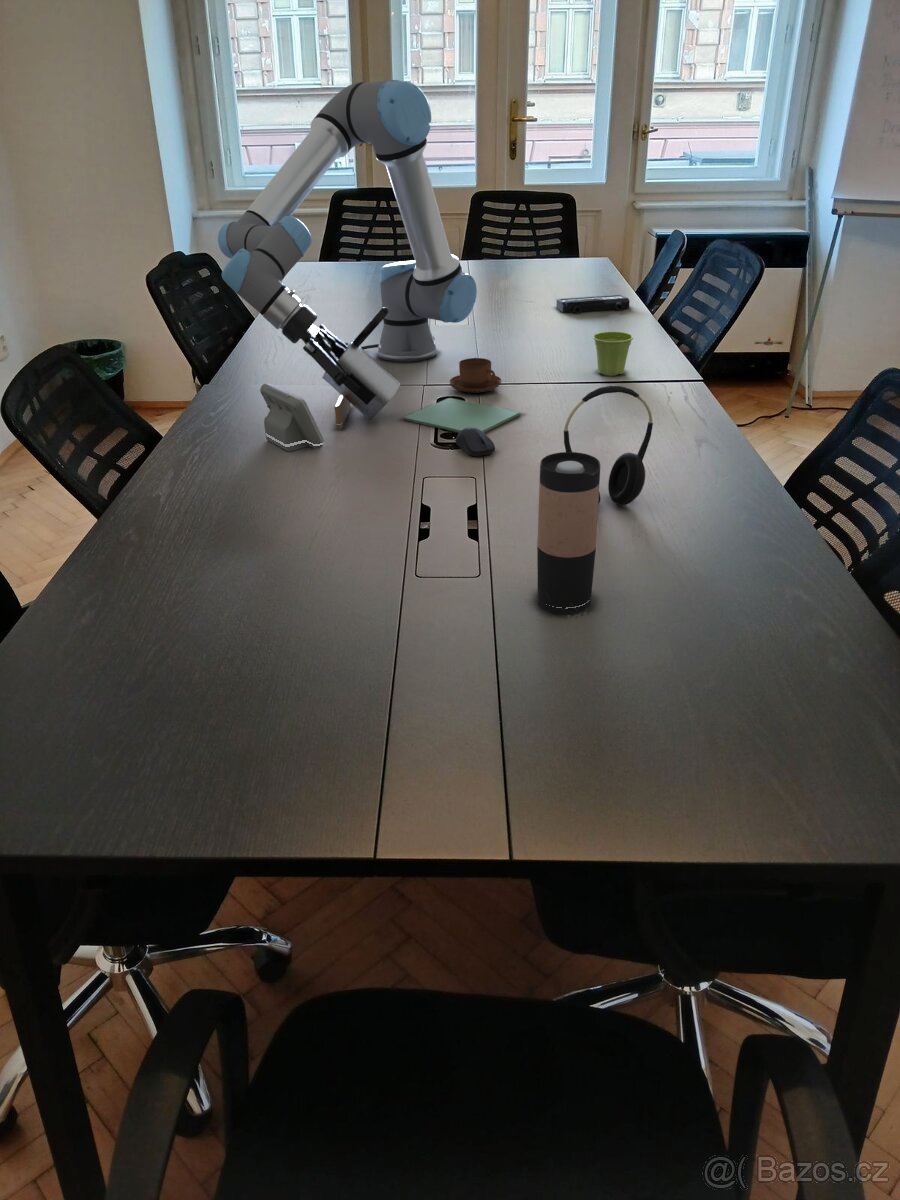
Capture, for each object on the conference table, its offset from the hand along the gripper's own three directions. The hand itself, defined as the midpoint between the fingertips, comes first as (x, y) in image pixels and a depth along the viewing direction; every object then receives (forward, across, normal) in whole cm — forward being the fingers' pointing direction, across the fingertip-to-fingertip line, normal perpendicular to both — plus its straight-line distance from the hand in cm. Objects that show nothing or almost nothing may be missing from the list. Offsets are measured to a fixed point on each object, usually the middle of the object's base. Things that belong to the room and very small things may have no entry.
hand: (374, 392), depth 185 cm
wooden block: (-1, 0, +9) cm, 9 cm away
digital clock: (-6, -14, +15) cm, 21 cm away
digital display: (+44, +101, -36) cm, 116 cm away
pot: (+2, 0, +6) cm, 6 cm away
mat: (+17, 0, -9) cm, 19 cm away
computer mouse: (+19, -20, -11) cm, 30 cm away
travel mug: (+29, -78, -20) cm, 85 cm away
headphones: (+35, -46, -26) cm, 63 cm away
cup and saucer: (+19, +20, -11) cm, 29 cm away
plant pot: (+42, +31, -34) cm, 62 cm away
